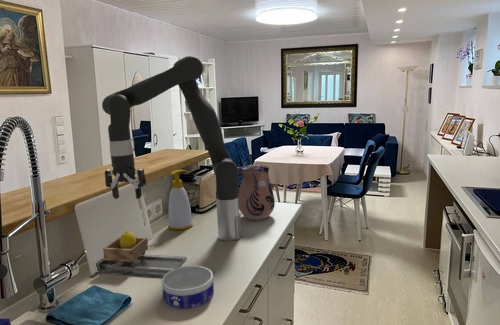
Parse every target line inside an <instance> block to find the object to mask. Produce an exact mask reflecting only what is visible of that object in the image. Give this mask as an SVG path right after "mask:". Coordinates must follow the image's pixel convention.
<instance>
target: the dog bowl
mask: <svg viewBox="0 0 500 325" xmlns="http://www.w3.org/2000/svg"><path fill="white" fill-rule="evenodd" d="M161 278H162V279H161V288H162V290H161V291H162V296H163V301H164V303H165V304H166V306H169V307H171V308H174V309H179V310H180V309H181V310H182V309H183V310H185V309H192V308H197V307H199V306H202V305H204V304H207V303H208V302H209V301H210V300H211V299H212V298H213V296H214V293H215V290H214V287H215V285H214V274H213V271H212V270H211V269H210V268H207V267H205V266H202V265H201V266H200V265H185V266H181V267H179V268H176V269H173V270H171V271H169V272H168V273H166V274H165V275H164V276H163V277H161Z"/></svg>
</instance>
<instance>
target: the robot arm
mask: <svg viewBox="0 0 500 325" xmlns="http://www.w3.org/2000/svg"><path fill="white" fill-rule="evenodd" d="M203 72H204V65H203V63H202V61H201V59H199V57H196V56H194V55H187V56H185V57H182V58H180V59H178V60H177V61H176V62H174V63H173V67H171V68H169V69H167V70H164V71H162V72H160V73H157V74H155V75H153V76H150V77H147V78H145V79H143V80H141V81H139V82H136V83H134V84H132V85H131V86H129V87H127V88H124V89H121V90H119V91H116V92H113V93H111V94H109V95H107V96H105V97H104V99H103V100H102V103H101V107H102V110H103V112H105V114H107V115H109V118H110V124H108V127H107V128H108V129H107V132H108V139H109V153H110V154H109V155H110V160H111V167H112V169H111V168H110V169H106V170H104V180H105V181H104V182H105V187H106V188H110V189H111V194H112V197H113V199H115V200H117V199H119V197H120V193H119V192H120V191H119V187H118V185H119V184H120V183H124V182H125V183H130V184H131V185H133V187H134V188H135V189H134V190H135V198H136V199H137V200H139V199H141V198H142V195H143V192H142V191H143V190H142V188H143V187H144V186H146V185H147V182H146V177H145V170H144V168H140V169H136V167H135V157H134V156H135V155H134V147H133V143H132V139H131V138H132V137H131V131H130V130H131V129H130V123H131V108H132V107H135V106H139V105H143V104H145V103H147V102H148V101H151V100H153V99H154V98H156V97H158V96H160V95H161V94H163V93H165V92H167V91H168V90H170V89H171V88H174V87H176V86H178V87H179V89H180V91H181V93H182V95H183V97H184V99H185V102H186V104H187V106H188V108H189V109H188V110H189V112H190V114H191V117H192V120H193V123H194V124H195V127H196V130H197V132H198V134H199V136H200V138H201V141H202V143H203V144H204V147H205V148H206V150H207V152H208V155H209V158H210V162H211V166H212V170H213V173H214V175H215V187H216V188H215V201H216V203H215V204H216V218H217V233H218V234H217V235H218V239H219V240H221V241H227V242H228V241H235V240H239V239H240V237H241V236H242V234H243V233H242V217H241V215H242V213H241V212H240V210H239V199H238V192H239V188H240V181H239V179H240V177H239V176H240V175H239V174H240V173H239V171H238V168H237V167H238V166H237V164H236V163H235V162H234V161H233V160H232V158H231V156H230V154H229V152H228V150H227V147H226V145H225V141H224V136H223V135H224V134H223V132H222V128H221V124H220V121H219V117H218V116H217V113H216V110H215V109H214V107H213V106H212V104H211V103H210V102H209V101H208V100H207V98H205V96H204V95H203V93H202V92H201V89H200V87H199V85H198V82H197V80H198V79H199V78H200V77H201V76H202V75H203ZM113 176H114V178H113Z"/></svg>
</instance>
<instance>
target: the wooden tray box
mask: <svg viewBox="0 0 500 325" xmlns="http://www.w3.org/2000/svg"><path fill="white" fill-rule="evenodd" d="M120 237H121V236H118V237H117V238H116V239H115V240H113V241H112V242H110V243H109V244H107V245H106V246H105V247H103V248H102V251H103V257H104V260H109V261H108V263H109V265H113V264H114V263H115V261H125V262H126V264H127V266H131V265H132V264H133V262H134V261H135V260H136V259H137V258H138V257H139V256H141V255H144V254H145V255H146V251H147V250H148V249H149V242H148V237H139V236H135V238H136V245H135V246H134V247H133V248H132V249H122V248H121V246H120Z"/></svg>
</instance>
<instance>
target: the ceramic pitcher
mask: <svg viewBox="0 0 500 325" xmlns="http://www.w3.org/2000/svg"><path fill="white" fill-rule="evenodd" d="M237 168H238V173H241V175H242V181H241V183H240V185H239V192H238V199H239V213H241V215H242V216H243V217H245V219H248V220H252V221H261V220H265V219H267V218H268V217H270V215H271V214H272V213H273V211H274V209H275V195H274V190H273V187H272V184H271V181H270V177H269V171H270V167H269V166H266V165H262V164H259V163H258V164H248V165H244V166H237Z"/></svg>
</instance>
